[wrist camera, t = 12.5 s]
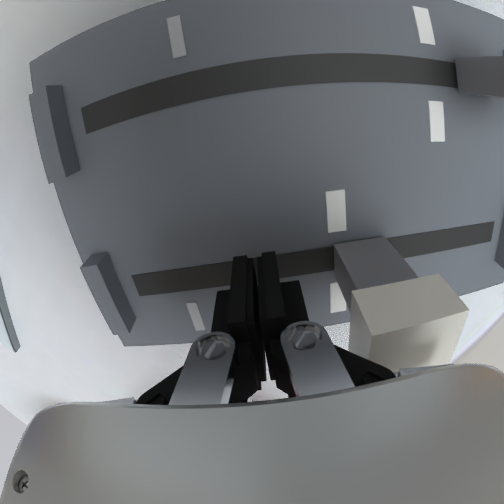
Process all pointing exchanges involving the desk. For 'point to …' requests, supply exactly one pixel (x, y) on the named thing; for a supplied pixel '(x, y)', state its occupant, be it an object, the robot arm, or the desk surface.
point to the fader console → (269, 150)
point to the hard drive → (7, 325)
